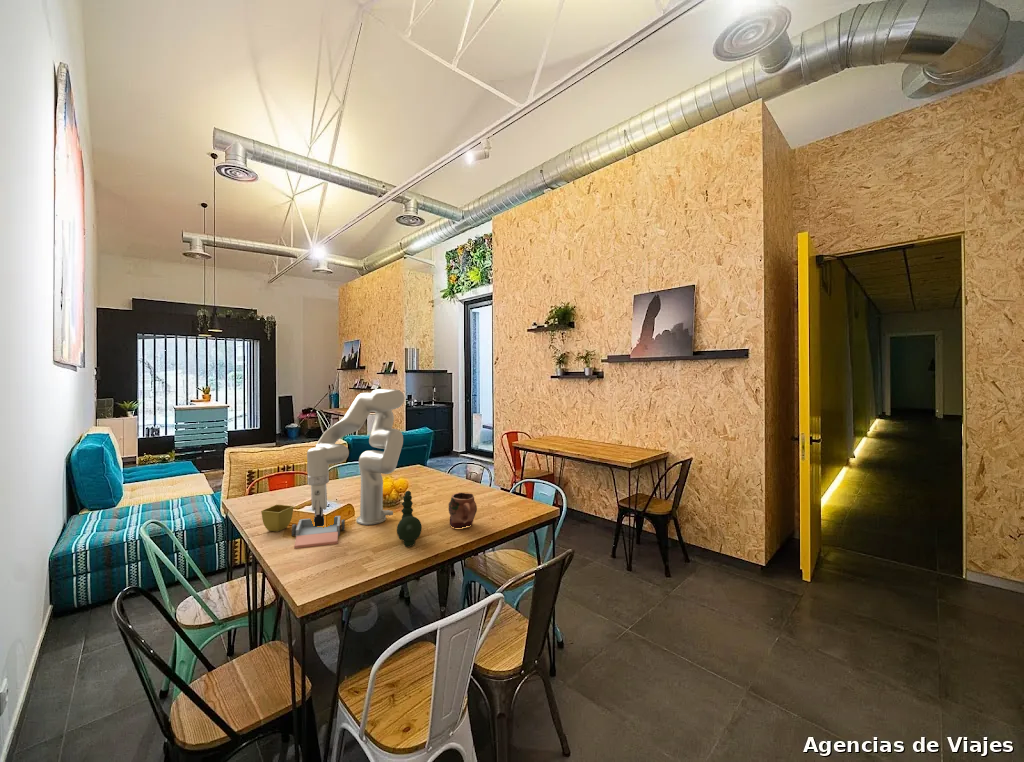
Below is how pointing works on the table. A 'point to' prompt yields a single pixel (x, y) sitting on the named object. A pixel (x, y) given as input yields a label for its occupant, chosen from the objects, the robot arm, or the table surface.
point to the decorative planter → (462, 510)
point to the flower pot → (277, 517)
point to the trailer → (308, 528)
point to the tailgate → (316, 539)
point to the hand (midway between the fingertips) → (319, 525)
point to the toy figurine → (408, 523)
